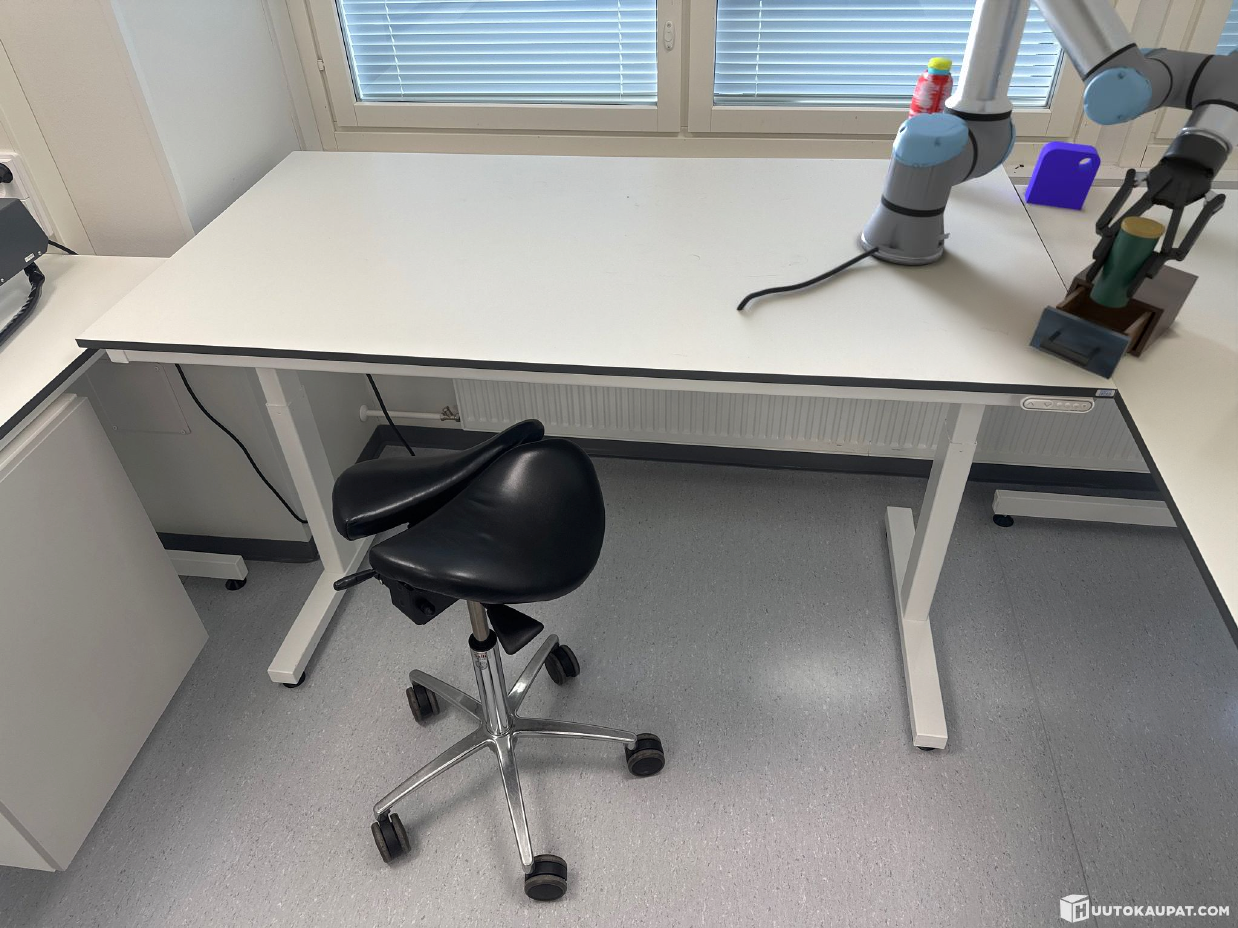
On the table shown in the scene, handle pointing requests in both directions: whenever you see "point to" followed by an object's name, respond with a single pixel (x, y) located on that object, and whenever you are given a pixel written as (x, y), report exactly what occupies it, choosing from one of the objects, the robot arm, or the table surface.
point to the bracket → (1063, 175)
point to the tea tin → (1126, 260)
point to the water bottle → (932, 88)
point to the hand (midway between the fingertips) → (1108, 286)
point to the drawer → (1090, 332)
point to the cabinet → (1152, 300)
